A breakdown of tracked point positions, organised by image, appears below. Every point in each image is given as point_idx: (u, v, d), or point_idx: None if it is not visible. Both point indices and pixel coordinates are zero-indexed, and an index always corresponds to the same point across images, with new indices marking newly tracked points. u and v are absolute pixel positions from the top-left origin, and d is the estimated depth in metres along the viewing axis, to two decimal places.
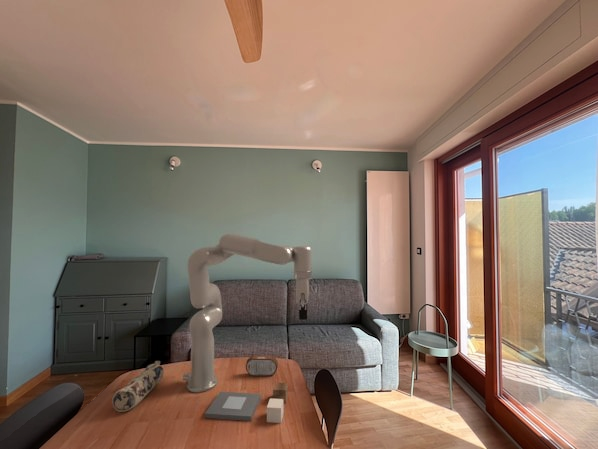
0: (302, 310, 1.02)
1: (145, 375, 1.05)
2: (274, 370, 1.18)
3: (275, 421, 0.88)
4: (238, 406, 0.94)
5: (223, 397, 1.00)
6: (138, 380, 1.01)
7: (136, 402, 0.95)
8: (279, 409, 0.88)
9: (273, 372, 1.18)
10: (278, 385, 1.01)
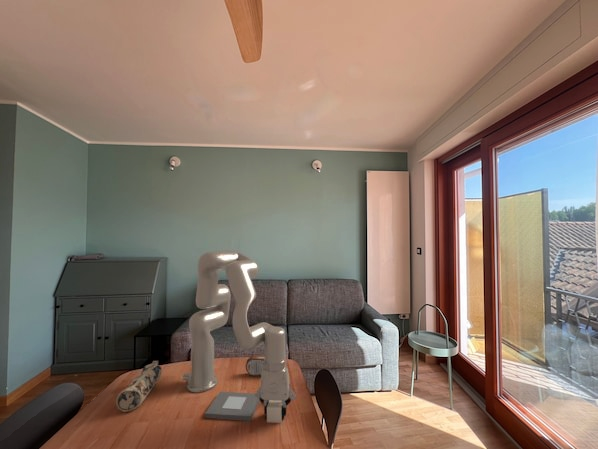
0: None
1: (146, 375, 1.05)
2: None
3: (275, 421, 0.88)
4: (238, 406, 0.94)
5: (223, 397, 1.00)
6: (140, 380, 1.01)
7: (141, 401, 0.96)
8: (279, 409, 0.88)
9: None
10: None
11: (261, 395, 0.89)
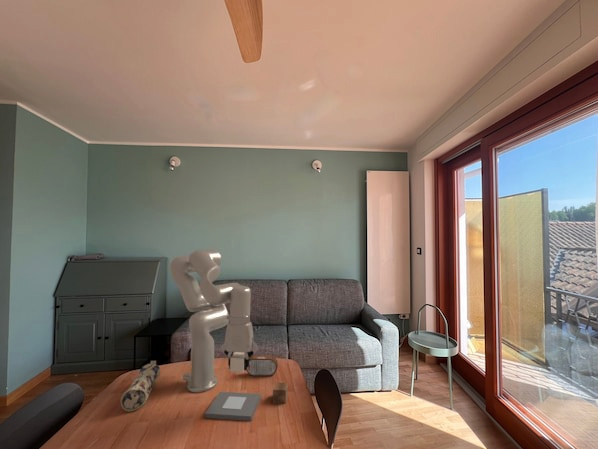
0: None
1: (147, 374, 1.05)
2: (274, 370, 1.18)
3: (238, 371, 0.94)
4: (238, 406, 0.94)
5: (223, 397, 1.00)
6: (142, 379, 1.01)
7: (146, 399, 0.96)
8: (242, 360, 0.94)
9: (273, 372, 1.18)
10: (278, 385, 1.01)
11: (225, 347, 0.95)
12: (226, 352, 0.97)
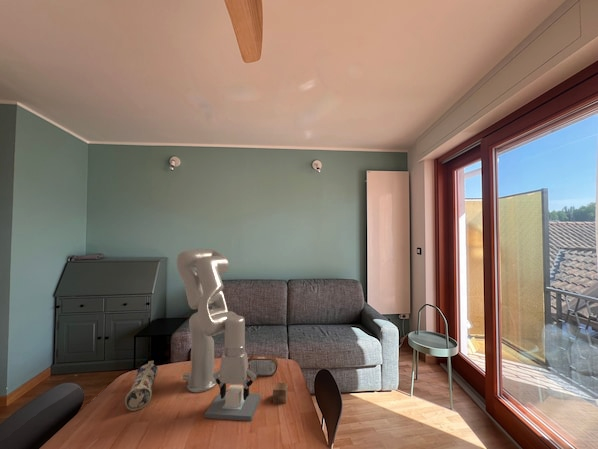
0: (248, 387, 0.96)
1: (147, 374, 1.05)
2: (274, 370, 1.18)
3: (233, 405, 0.94)
4: None
5: None
6: (144, 378, 1.02)
7: (150, 397, 0.97)
8: (237, 394, 0.94)
9: (273, 372, 1.18)
10: (278, 385, 1.01)
11: (220, 379, 0.95)
12: (218, 381, 0.97)
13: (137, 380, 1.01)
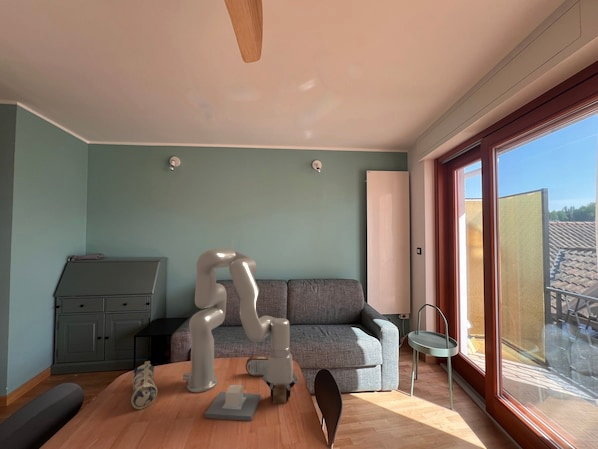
0: None
1: (147, 373, 1.06)
2: None
3: (233, 405, 0.94)
4: None
5: (223, 397, 1.00)
6: (147, 378, 1.02)
7: None
8: (237, 394, 0.94)
9: None
10: (278, 385, 1.01)
11: (268, 379, 0.99)
12: (268, 383, 1.01)
13: (139, 380, 1.01)
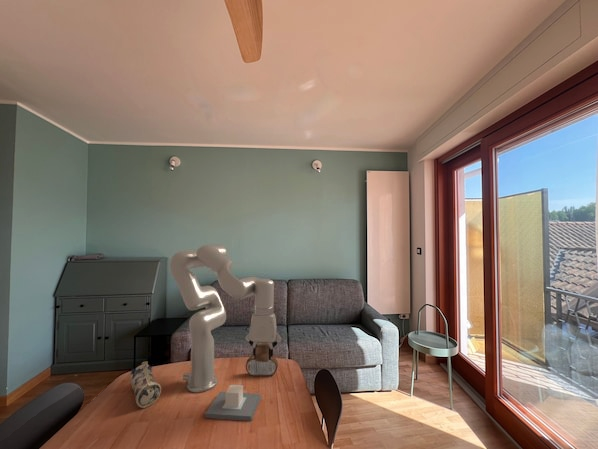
0: None
1: (148, 373, 1.06)
2: (274, 370, 1.18)
3: (233, 405, 0.94)
4: None
5: (223, 397, 1.00)
6: (148, 377, 1.03)
7: None
8: (237, 394, 0.94)
9: (273, 372, 1.18)
10: (261, 345, 1.01)
11: (250, 337, 0.99)
12: (251, 342, 1.00)
13: (141, 379, 1.02)
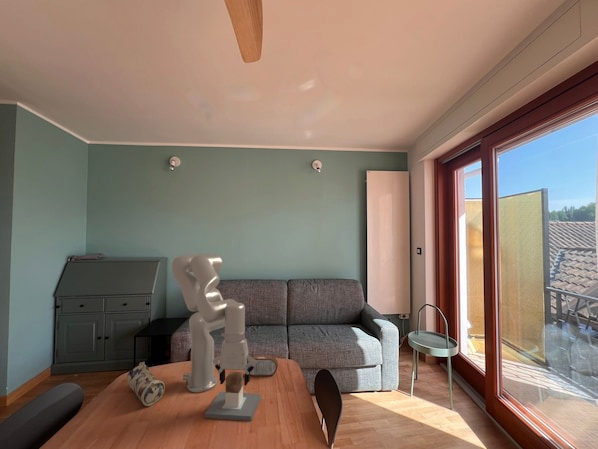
0: (249, 373, 0.96)
1: (148, 373, 1.06)
2: (274, 370, 1.18)
3: (233, 405, 0.94)
4: None
5: (223, 397, 1.00)
6: (150, 376, 1.04)
7: None
8: (237, 394, 0.94)
9: (273, 372, 1.18)
10: (232, 375, 0.97)
11: (220, 365, 0.95)
12: (217, 367, 0.97)
13: (143, 379, 1.02)
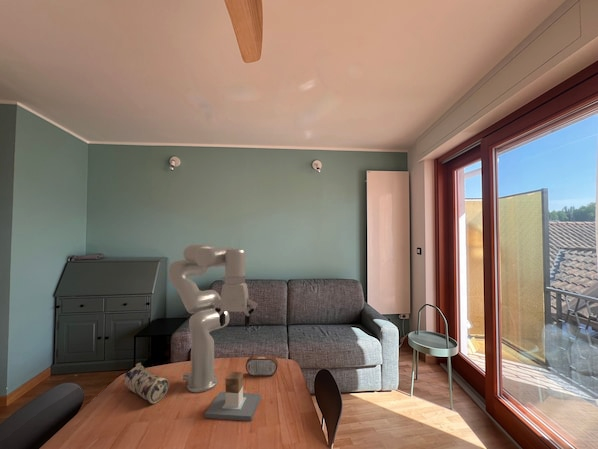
0: (249, 315, 0.97)
1: (148, 372, 1.07)
2: (274, 370, 1.18)
3: (233, 405, 0.94)
4: None
5: (223, 397, 1.00)
6: (152, 375, 1.04)
7: None
8: (237, 394, 0.94)
9: (273, 372, 1.18)
10: (232, 375, 0.97)
11: (221, 307, 0.96)
12: (217, 310, 0.98)
13: (145, 378, 1.03)
